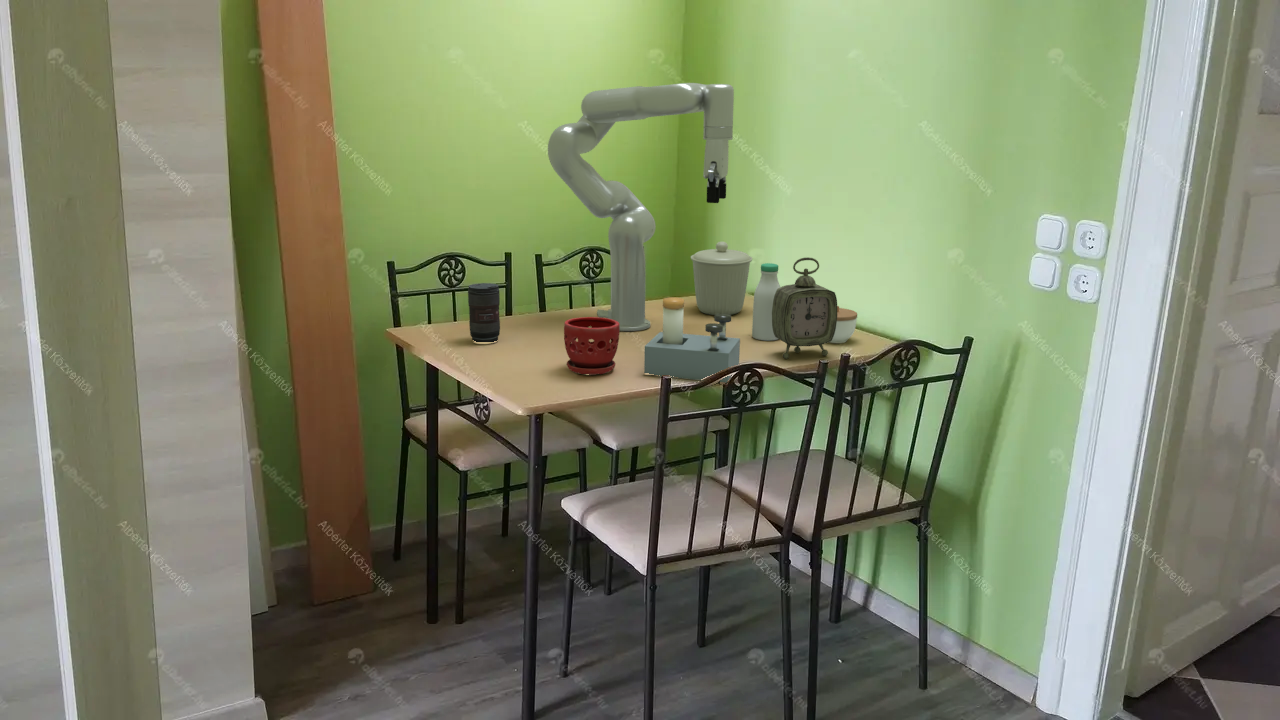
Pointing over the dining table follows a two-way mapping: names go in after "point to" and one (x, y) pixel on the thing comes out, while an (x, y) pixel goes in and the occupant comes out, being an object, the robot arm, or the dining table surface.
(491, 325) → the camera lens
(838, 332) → the lidded jar
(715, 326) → the plunger
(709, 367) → the housing
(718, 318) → the plunger
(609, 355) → the plant pot
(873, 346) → the dining table surface
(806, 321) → the tabletop clock
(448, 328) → the dining table surface
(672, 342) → the cylinder
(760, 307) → the milk bottle
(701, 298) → the canister
